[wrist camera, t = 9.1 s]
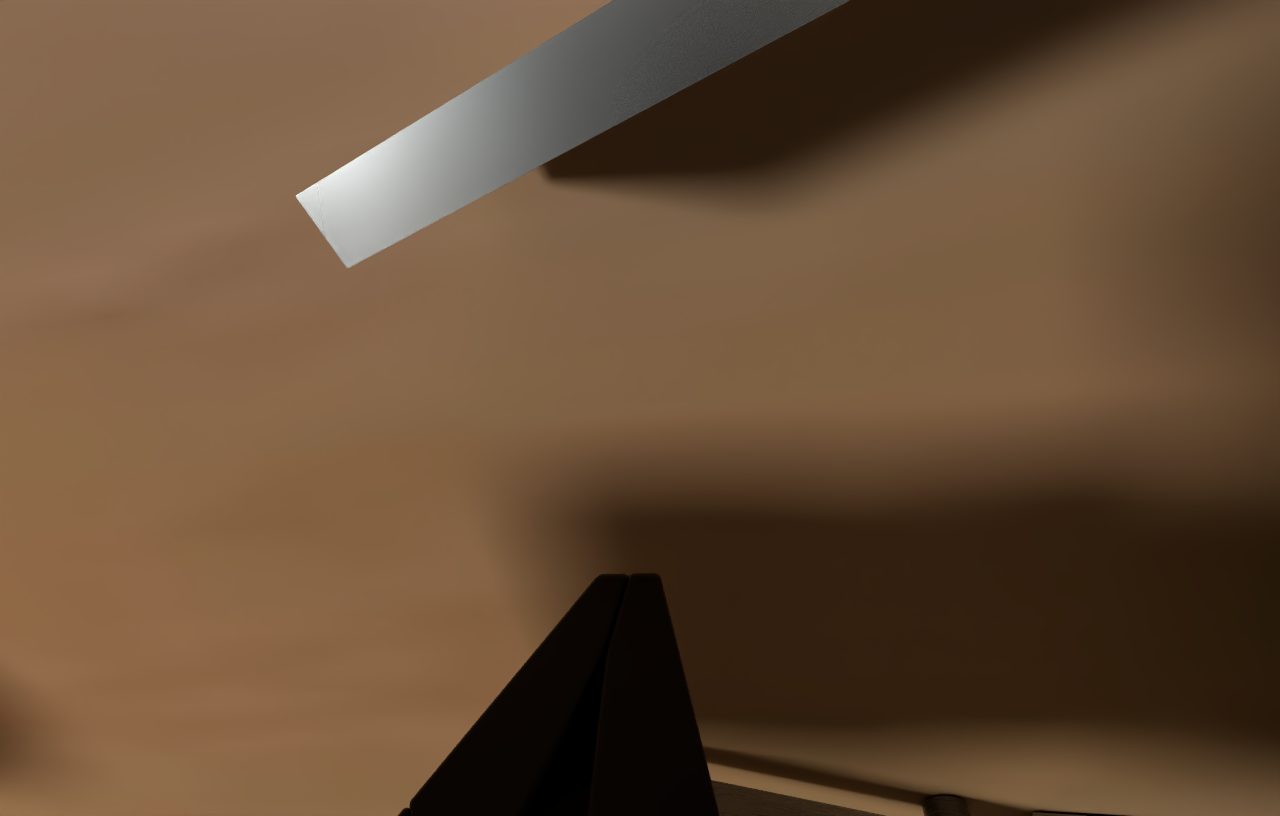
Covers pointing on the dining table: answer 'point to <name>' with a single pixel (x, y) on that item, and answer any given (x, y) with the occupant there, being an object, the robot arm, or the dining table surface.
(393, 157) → the bar
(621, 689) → the robot arm
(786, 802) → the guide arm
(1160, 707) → the dining table surface
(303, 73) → the dining table surface
